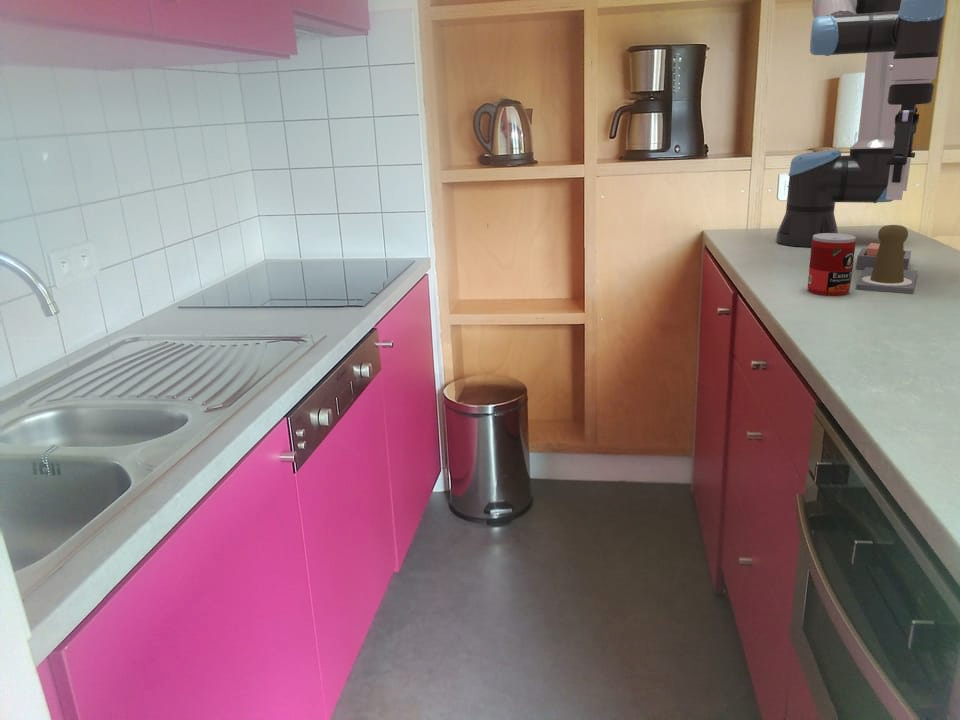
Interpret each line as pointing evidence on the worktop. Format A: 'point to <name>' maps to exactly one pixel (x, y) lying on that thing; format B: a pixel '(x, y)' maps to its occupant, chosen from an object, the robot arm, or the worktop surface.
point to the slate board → (903, 287)
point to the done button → (872, 249)
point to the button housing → (870, 260)
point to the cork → (890, 255)
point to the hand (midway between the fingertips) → (896, 195)
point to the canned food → (831, 263)
